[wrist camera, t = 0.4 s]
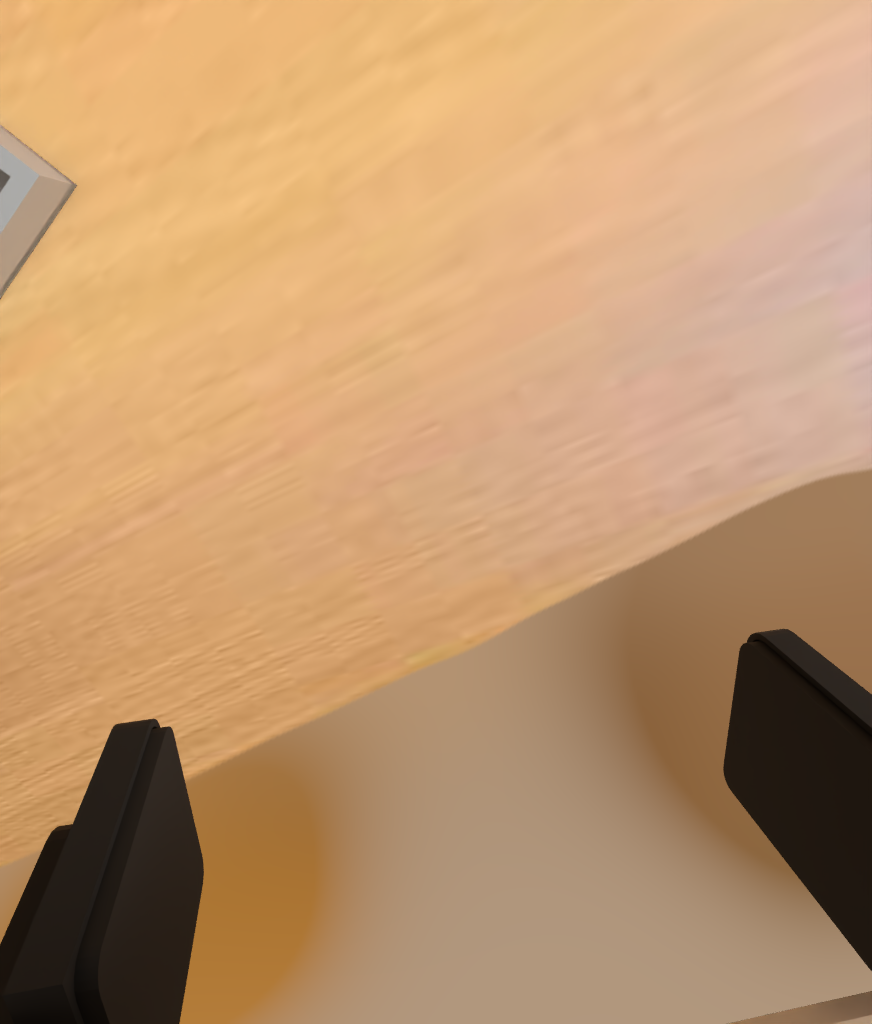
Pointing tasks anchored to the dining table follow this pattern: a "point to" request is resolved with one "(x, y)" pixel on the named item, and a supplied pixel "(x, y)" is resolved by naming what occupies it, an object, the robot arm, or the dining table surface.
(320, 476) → the dining table surface
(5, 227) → the large crate
